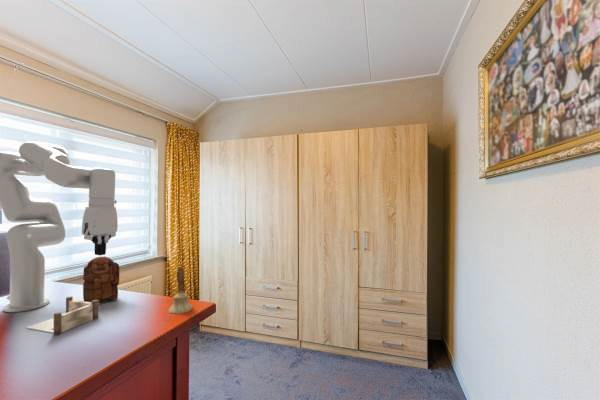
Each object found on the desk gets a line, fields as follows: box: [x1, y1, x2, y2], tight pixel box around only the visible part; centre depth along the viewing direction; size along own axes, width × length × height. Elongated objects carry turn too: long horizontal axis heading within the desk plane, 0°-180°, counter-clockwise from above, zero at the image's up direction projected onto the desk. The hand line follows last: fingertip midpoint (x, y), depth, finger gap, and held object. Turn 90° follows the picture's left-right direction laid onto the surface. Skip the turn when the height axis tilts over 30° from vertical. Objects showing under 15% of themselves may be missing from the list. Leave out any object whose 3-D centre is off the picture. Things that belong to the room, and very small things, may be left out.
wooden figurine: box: [82, 256, 120, 305], centre depth 113 cm, size 12×6×18 cm, turn 129°
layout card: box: [26, 317, 54, 334], centre depth 92 cm, size 12×10×1 cm
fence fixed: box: [65, 296, 100, 320], centre depth 99 cm, size 14×2×6 cm, turn 74°
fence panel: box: [53, 304, 94, 336], centre depth 90 cm, size 12×2×6 cm, turn 166°
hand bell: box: [168, 266, 193, 315], centre depth 105 cm, size 8×8×16 cm
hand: (100, 254), depth 100 cm, fingers closed
